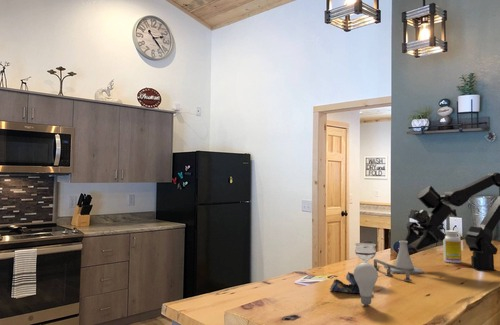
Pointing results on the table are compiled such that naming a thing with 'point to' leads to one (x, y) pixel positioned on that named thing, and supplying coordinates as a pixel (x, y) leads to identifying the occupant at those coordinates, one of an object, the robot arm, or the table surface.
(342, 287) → the snack package
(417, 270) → the slate coaster
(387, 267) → the bent rail
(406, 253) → the flask
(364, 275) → the lightbulb
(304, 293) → the table surface
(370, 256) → the wineglass
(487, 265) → the robot arm
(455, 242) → the supplement bottle
